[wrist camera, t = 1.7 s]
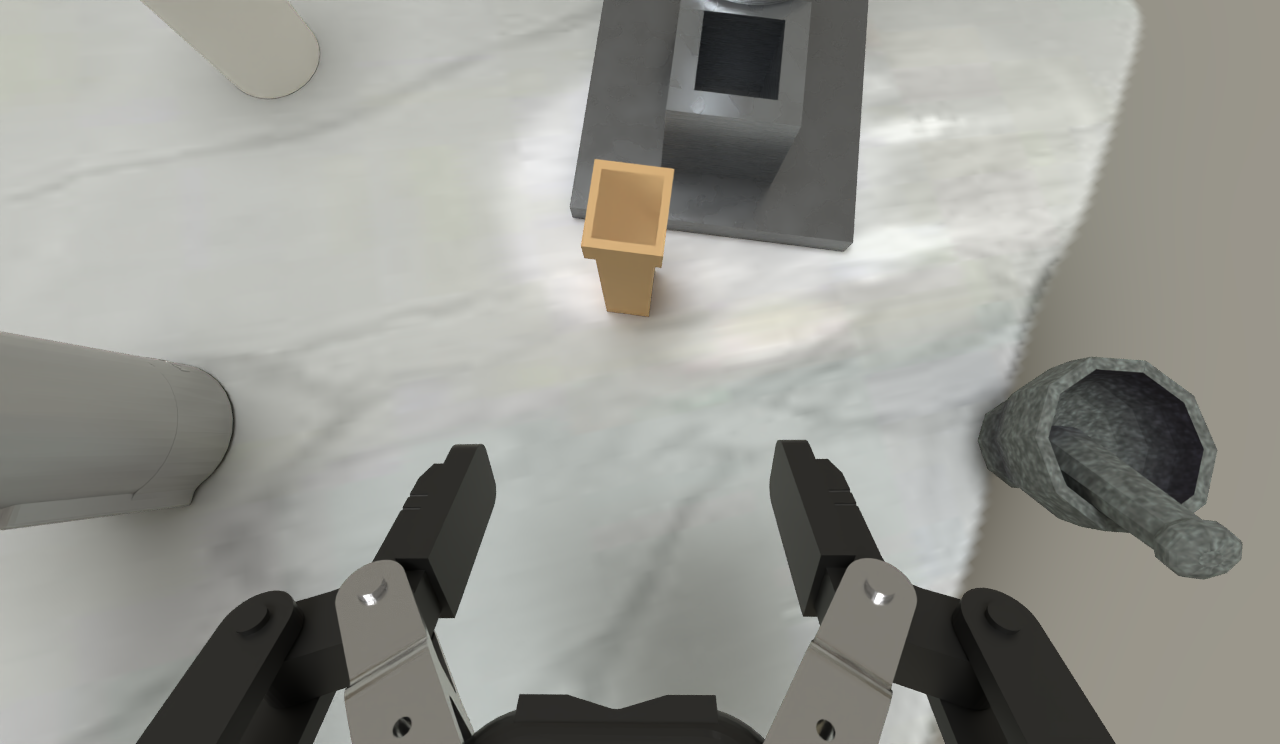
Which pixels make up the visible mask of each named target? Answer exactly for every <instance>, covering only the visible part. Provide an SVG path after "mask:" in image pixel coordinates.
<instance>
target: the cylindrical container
mask: <svg viewBox="0 0 1280 744" xmlns="http://www.w3.org/2000/svg"><path fill="white" fill-rule="evenodd" d="M140 1H142V2H143V3H144V4H145V5H146V6H147V7H148V8H149V9H150V10H152V11H153V12H154V13H155V14H156V15H157V16H158V17H159V18H160V19H162V20H163V21H164V22H165V23H166V24H167V25H168V26H169V27H170V28H172V29H173V30H174V31H175V32H176V33H177V34H178V35H179V36H181V37H182V38H183V39H184V40H185V41H186V42H187V43H188V44H189V45H191V46H192V47H193V48H194V49H195V50H196V51H197V52H198V53H199V54H201V55H202V56H203V57H204V58H205V59H206V60H207V61H208V62H210V63H211V64H212V65H213V66H214V67H215V68H216V69H217V70H218V71H220V72H221V73H222V74H223V75H224V76H225V77H226V78H227V79H228V80H230V81H231V82H232V83H233V84H234V85H235V86H236V87H237V88H239V89H240V90H241V91H243V92H244V93H246V94H248V95H250V96H254V97H258V98H266V99H272V98H279V97H283V96H286V95H289V94H291V93H293V92H295V91H297V90H298V89H300V88H301V87H302V86H304V85H305V84H306V83H307V82H308V81H309V80H310V78H311V77H312V75H313V74H314V72H315V70H316V68H317V66H318V62H319V56H320V52H319V45H318V42H317V39H316V37H315V36H314V34H313V33H312V31H311V30H310V29H309V27H308V26H307V25H306V24H305V22H304V21H303V20H302V19H301V17H300V16H299V15H298V13H297V12H296V11H295V10H294V8H293V7H292V6H291V4H290V3H289V2H288V1H287V0H140Z"/></svg>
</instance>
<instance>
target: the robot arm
mask: <svg viewBox="0 0 1280 744" xmlns="http://www.w3.org/2000/svg"><path fill="white" fill-rule="evenodd" d="M232 425H233V416H232V410H231V404H230V402H229V399H228V397H227V395H226V392H225V391H224V390H223V388H222V387H221V385H220V384H219V383H218V381H216V380H215V379H214V378H213V377H212V376H210V375H209V374H208V373H206V372H204V371H202V370H200V369H198V368H196V367H192V366H188V365H184V364H179V363H174V362H168V361H166V360H161V359H155V358H147V357H140V356H134V355H129V354H124V353H118V352H113V351H107V350H101V349H96V348H90V347H85V346H79V345H73V344H68V343H62V342H57V341H51V340H46V339H40V338H34V337H29V336H23V335H18V334H12V333H6V332H1V331H0V530H8V529H16V528H23V527H31V526H38V525H46V524H53V523H61V522H68V521H75V520H83V519H90V518H98V517H105V516H113V515H120V514H128V513H135V512H143V511H150V510H158V509H165V508H173V507H180V506H187V505H189V504H190V503H191V501H192V497H193V494H194V492H195V489H196V488H197V487H198V486H199V485H200V484H201V483H202V482H203V481H204V480H205V479H206V478H208V477H209V476H210V475H211V474H212V473H213V471H214V470H215V469H216V467H217V466H218V465H219V463H220V462H221V461H222V459H223V457H224V455H225V453H226V451H227V449H228V446H229V442H230V439H231V435H232ZM770 498H771V503H772V507H773V510H774V514H775V518H776V521H777V525H778V529H779V532H780V536H781V539H782V543H783V547H784V550H785V554H786V557H787V561H788V565H789V568H790V572H791V575H792V579H793V583H794V586H795V590H796V593H797V597H798V601H799V604H800V608H801V611H802V615H803V617H818V621H819V624H820V628H819V630H818V632H817V634H816V636H815V638H814V640H812V641H811V643H810V645H809V647H808V649H807V651H806V653H805V655H804V657H803V659H802V662H801V664H800V666H799V668H798V670H797V672H796V674H795V677H794V679H793V681H792V683H791V685H790V687H789V689H788V692H787V694H786V696H785V698H784V700H783V702H782V704H781V706H780V709H779V711H778V713H777V715H776V717H775V719H774V721H773V724H772V726H771V728H770V730H769V732H768V734H767V736H766V739H764V738H763V737H762V736H761V735H760V734H758V733H757V732H756V731H755V730H753V729H752V728H751V727H750V726H748V725H747V724H745V723H744V722H742V721H740V720H739V719H737V718H735V717H733V716H731V715H729V714H727V713H724V712H721V711H717V704H716V695H666V696H662V697H659V698H656V699H652V700H649V701H645V702H642V703H639V704H635V705H632V706H629V707H625V708H622V709H611V708H608V707H604V706H601V705H598V704H595V703H592V702H589V701H586V700H583V699H579V698H576V697H573V696H570V695H548V694H519V699H518V704H517V709H516V710H515V711H512V712H509V713H507V714H504V715H502V716H500V717H498V718H496V719H494V720H493V721H491V722H489V723H488V724H486V725H485V726H483V727H482V728H481V729H479V730H478V731H477V732H474V730H473V727H472V725H471V723H470V720H469V718H468V716H467V713H466V711H465V709H464V706H463V704H462V701H461V699H460V696H459V694H458V691H457V688H456V685H455V683H454V680H453V677H452V674H451V672H450V669H449V666H448V664H447V661H446V658H445V655H444V653H443V650H442V647H441V644H440V642H439V639H438V636H437V634H436V632H435V630H434V629H435V626H436V624H437V621H438V618H455V616H456V613H457V610H458V607H459V605H460V602H461V599H462V596H463V593H464V590H465V587H466V585H467V582H468V579H469V576H470V573H471V570H472V567H473V564H474V562H475V559H476V556H477V553H478V550H479V547H480V544H481V542H482V539H483V536H484V533H485V530H486V527H487V524H488V522H489V519H490V516H491V513H492V510H493V507H494V504H495V499H496V484H495V480H494V476H493V473H492V469H491V465H490V462H489V458H488V455H487V451H486V448H485V446H484V445H483V444H457V445H454V446H453V447H452V448H451V450H450V452H449V454H448V456H447V458H446V460H445V462H444V463H443V464H433V465H432V466H431V467H430V468H429V469H428V470H427V471H426V472H425V473H424V474H423V475H422V476H420V477H419V479H418V480H417V482H416V484H415V486H414V488H413V490H412V491H411V493H410V497H408V499H407V500H406V502H405V504H404V506H403V510H401V511H400V513H399V515H398V517H397V518H396V520H395V522H394V524H393V526H392V527H391V529H390V531H389V533H388V535H387V536H386V538H385V540H384V542H383V544H382V545H381V547H380V549H379V551H378V553H377V554H376V556H375V558H374V560H373V561H372V563H369V564H367V565H365V566H363V567H361V568H359V569H358V570H357V571H355V572H354V573H353V574H351V575H350V576H349V577H348V578H347V579H346V580H345V581H344V583H343V584H342V586H341V587H340V588H339V589H337V590H334V591H331V592H328V593H324V594H321V595H317V596H314V597H311V598H307V599H304V600H300V601H297V602H295V601H294V600H293V598H292V597H291V596H290V595H289V594H288V593H286V592H283V591H268V592H265V593H261V594H259V595H256V596H254V597H252V598H250V599H248V600H246V601H245V602H243V603H242V604H240V605H239V606H238V607H236V608H235V609H234V610H233V611H231V612H230V613H229V614H228V615H227V616H226V617H225V618H224V620H223V621H222V622H221V624H220V625H219V626H218V628H217V629H216V631H215V632H214V633H213V635H212V636H211V638H210V639H209V640H208V642H207V643H206V645H205V646H204V648H203V649H202V650H201V652H200V653H199V655H198V656H197V658H196V659H195V660H194V662H193V663H192V665H191V666H190V667H189V669H188V670H187V672H186V673H185V675H184V676H183V677H182V679H181V680H180V682H179V683H178V684H177V686H176V687H175V689H174V690H173V692H172V693H171V694H170V696H169V697H168V699H167V700H166V702H165V703H164V704H163V706H162V707H161V709H160V710H159V711H158V713H157V714H156V716H155V717H154V719H153V720H152V721H151V723H150V724H149V726H148V727H147V729H146V730H145V731H144V733H143V734H142V736H141V737H140V738H139V740H138V741H137V743H136V744H313V742H314V740H315V738H316V736H317V733H318V731H319V729H320V727H321V724H322V722H323V720H324V718H325V715H326V713H327V711H328V709H329V706H330V704H331V702H332V700H333V697H334V695H335V693H336V691H337V690H340V689H343V688H346V687H347V688H346V689H345V692H344V699H345V707H346V712H347V718H348V724H349V729H350V735H351V740H352V744H878V743H879V739H880V736H881V733H882V729H883V726H884V723H885V720H886V716H887V713H888V710H889V706H890V703H891V698H892V693H893V691H892V690H891V687H892V683H896V684H899V685H901V686H904V687H907V688H910V689H913V690H916V691H919V692H922V693H925V694H926V695H927V698H928V700H929V703H930V705H931V708H932V711H933V713H934V716H935V718H936V721H937V724H938V726H939V729H940V731H941V734H942V737H943V739H944V742H945V744H1115V742H1114V740H1113V739H1112V737H1111V736H1110V734H1109V732H1108V731H1107V729H1106V728H1105V726H1104V725H1103V723H1102V721H1101V720H1100V718H1099V717H1098V715H1097V713H1096V712H1095V710H1094V709H1093V707H1092V706H1091V704H1090V703H1089V701H1088V699H1087V698H1086V696H1085V695H1084V693H1083V691H1082V690H1081V688H1080V687H1079V685H1078V683H1077V682H1076V680H1075V679H1074V677H1073V676H1072V674H1071V672H1070V671H1069V669H1068V668H1067V666H1066V665H1065V663H1064V661H1063V660H1062V658H1061V657H1060V655H1059V653H1058V652H1057V650H1056V649H1055V647H1054V646H1053V644H1052V643H1051V641H1050V639H1049V638H1048V636H1047V635H1046V633H1045V631H1044V630H1043V628H1042V627H1041V625H1040V623H1039V622H1038V621H1037V619H1036V618H1035V617H1034V615H1032V613H1031V612H1030V611H1029V610H1028V609H1027V608H1026V607H1025V606H1023V605H1022V604H1021V603H1019V602H1018V601H1017V600H1015V599H1013V598H1012V597H1010V596H1008V595H1006V594H1004V593H1002V592H999V591H996V590H993V589H988V588H975V589H971V590H969V591H967V592H966V593H965V594H964V595H963V597H962V599H957V598H954V597H950V596H947V595H943V594H940V593H936V592H932V591H929V590H925V589H922V588H919V587H917V586H915V585H912V584H911V582H910V581H909V579H908V578H907V577H906V576H905V575H904V574H903V573H902V572H901V571H900V570H898V569H897V568H896V567H894V566H892V565H891V564H889V563H886V562H885V561H884V560H883V558H882V556H881V554H880V552H879V550H878V548H877V546H876V544H875V542H874V539H873V537H872V535H871V533H870V531H869V529H868V527H867V525H866V522H865V520H864V518H863V516H862V514H861V512H860V510H859V508H858V506H856V501H855V499H854V497H853V495H852V493H850V488H849V486H848V484H847V482H846V480H845V478H844V476H843V474H842V472H841V471H840V470H839V469H838V468H837V467H835V466H834V465H833V464H832V463H831V462H830V461H829V460H828V459H815V457H814V454H813V452H812V449H811V447H810V445H809V443H808V441H807V440H778V441H777V443H776V447H775V453H774V458H773V464H772V470H771V476H770Z"/></svg>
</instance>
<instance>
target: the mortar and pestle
mask: <svg viewBox="0 0 1280 744" xmlns="http://www.w3.org/2000/svg"><path fill="white" fill-rule="evenodd" d="M978 443H979V446H980V448H981V451H982V454H983V457H984V460H985V463H986V465H987V468H988V469H989V470H990V471H991V472H993V473H994V474H995V475H996V476H998V477H999V478H1001V479H1002V480H1003V481H1004V482H1005V483H1007V484H1008V485H1009V486H1011V487H1014V488H1021V489H1022V490H1023V491H1024V492H1025V493H1027V494H1028V495H1029V496H1031V497H1032V498H1033V499H1034V500H1036V501H1037V502H1038V503H1040V504H1041V505H1042V506H1043V507H1045V508H1046V509H1047V510H1048V511H1050V512H1051V513H1052V514H1054V515H1055V516H1056V517H1057V518H1059V519H1062V520H1065V521H1067V522H1070V523H1073V524H1075V525H1078V526H1081V527H1086V528H1091V529H1097V530H1103V531H1112V532H1126V533H1131V534H1132V535H1134V536H1135V537H1137V538H1138V539H1140V540H1141V541H1142V542H1144V543H1145V544H1146V545H1148V546H1149V547H1151V548H1152V549H1154V552H1155V557H1156V558H1158V559H1159V560H1160V561H1161V562H1162V563H1163V564H1165V565H1166V566H1167V567H1168V568H1170V569H1171V570H1172V571H1173V572H1174V573H1176V574H1177V575H1178V576H1182V577H1189V578H1196V579H1207V578H1211V577H1214V576H1218V575H1221V574H1225V573H1227V572H1228V571H1229V570H1230V569H1231V568H1232V567H1233V566H1235V564H1237V563H1238V562H1239V561H1240V560H1241V556H1242V542H1241V540H1240V539H1238V538H1237V537H1236V536H1235V535H1234V534H1233V533H1231V532H1230V531H1229V530H1228V529H1227V528H1225V527H1224V526H1222V525H1221V524H1219V523H1218V522H1217V521H1209V520H1202V519H1200V518H1199V517H1198V516H1196V515H1195V514H1194V512H1195V511H1197V510H1198V509H1200V508H1201V507H1202V506H1204V505H1205V504H1206V501H1207V496H1208V492H1209V487H1210V482H1211V477H1212V473H1213V468H1214V463H1215V458H1216V453H1217V448H1216V446H1215V444H1214V442H1213V439H1212V437H1211V435H1210V432H1209V430H1208V428H1207V425H1206V423H1205V421H1204V418H1203V416H1202V414H1201V411H1200V409H1199V407H1198V404H1197V402H1196V400H1195V397H1194V396H1193V395H1192V394H1191V393H1189V392H1188V391H1187V390H1185V389H1184V388H1182V387H1181V386H1180V385H1178V384H1177V383H1176V382H1174V381H1173V380H1172V379H1170V378H1169V377H1167V376H1166V375H1165V374H1163V373H1162V372H1161V371H1159V370H1158V369H1157V368H1155V367H1154V366H1152V365H1151V364H1150V363H1148V362H1147V361H1141V360H1127V359H1114V358H1100V357H1088V358H1083V359H1078V360H1073V361H1069V362H1066V363H1064V364H1061V365H1059V366H1056V367H1054V368H1051V369H1049V370H1047V371H1046V372H1044V373H1043V374H1041V375H1040V376H1038V377H1037V378H1035V379H1034V380H1032V381H1031V382H1029V383H1028V384H1026V385H1025V386H1023V387H1022V388H1020V389H1019V390H1017V391H1016V392H1014V393H1013V394H1012V395H1011V396H1010V397H1009V398H1008V400H1006V401H1005V402H1003V403H1002V404H1000V405H999V406H997V407H996V408H994V409H993V410H991V411H990V412H988V413H987V414H986V415H985V418H984V421H983V425H982V428H981V431H980V435H979V438H978Z"/></svg>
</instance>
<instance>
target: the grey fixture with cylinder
mask: <svg viewBox="0 0 1280 744" xmlns="http://www.w3.org/2000/svg"><path fill="white" fill-rule="evenodd" d="M867 12H868V0H604V2H603V8H602V14H601V20H600V26H599V32H598V38H597V45H596V51H595V57H594V63H593V69H592V75H591V81H590V87H589V93H588V99H587V105H586V112H585V118H584V124H583V130H582V136H581V142H580V148H579V154H578V160H577V166H576V172H575V178H574V185H573V191H572V197H571V203H570V209H571V213H572V217H575V218H583V219H585V217H586V211H587V205H588V198H589V192H590V186H591V179H592V173H593V167H594V160H595V159H599V160H607V161H615V162H623V163H631V164H639V165H647V166H655V167H663V168H671V169H674V175H673V183H672V190H671V198H670V206H669V214H668V221H667V229H671V230H679V231H687V232H695V233H703V234H711V235H718V236H726V237H734V238H742V239H750V240H758V241H766V242H774V243H782V244H790V245H798V246H806V247H814V248H822V249H830V250H838V251H844V250H845V249H847V248H848V247H849V246H850V245H851V244H852V243H853V234H854V218H855V202H856V186H857V171H858V155H859V139H860V123H861V107H862V92H863V76H864V60H865V44H866V28H867Z"/></svg>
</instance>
